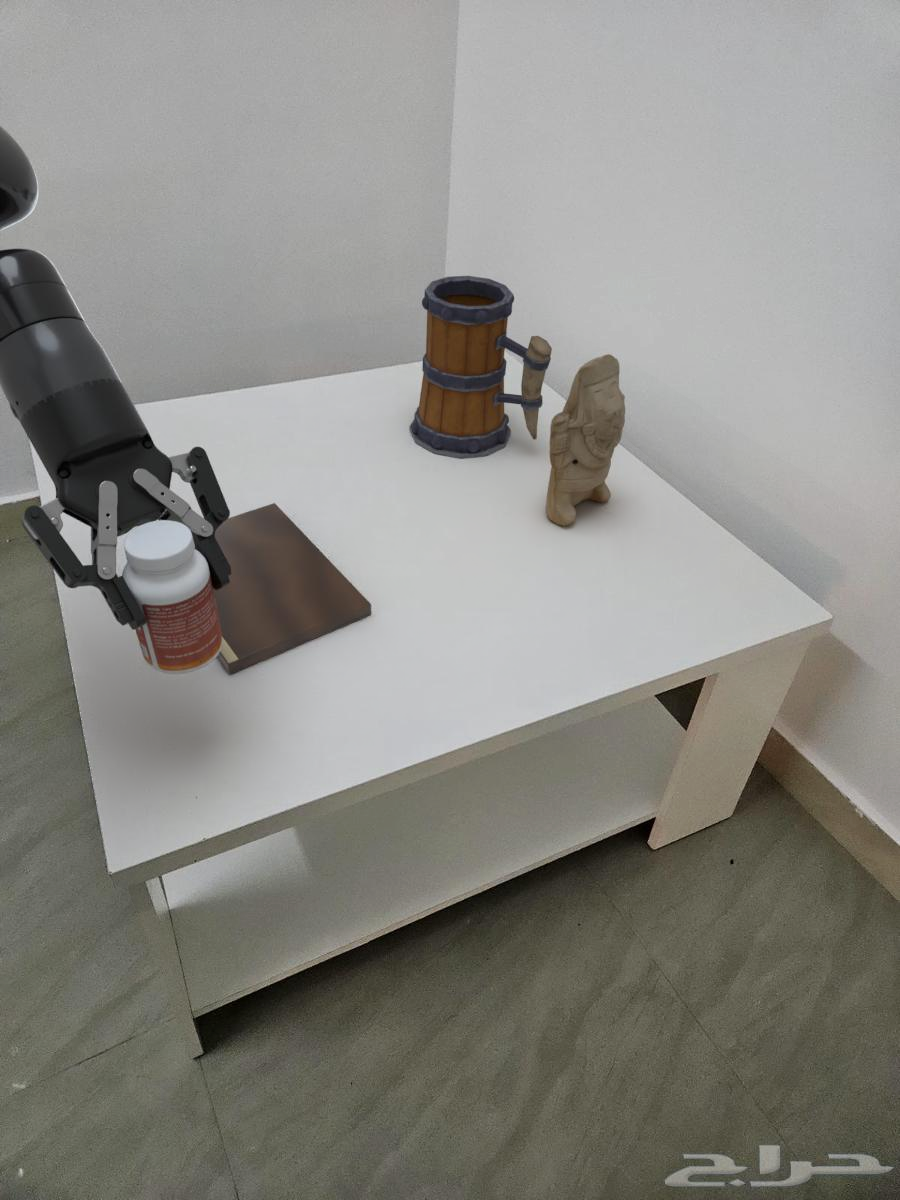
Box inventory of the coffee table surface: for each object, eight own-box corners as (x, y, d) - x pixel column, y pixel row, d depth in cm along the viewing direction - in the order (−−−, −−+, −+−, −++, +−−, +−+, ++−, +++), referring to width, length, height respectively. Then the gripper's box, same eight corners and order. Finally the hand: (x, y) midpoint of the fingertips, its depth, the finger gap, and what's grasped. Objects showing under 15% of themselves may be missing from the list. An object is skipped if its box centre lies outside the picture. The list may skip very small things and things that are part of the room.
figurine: (561, 541, 97) (588, 386, 84) (519, 513, 102) (538, 360, 88) (630, 504, 104) (665, 356, 91) (588, 479, 108) (615, 333, 95)
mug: (558, 435, 117) (579, 295, 104) (513, 481, 107) (530, 333, 94) (441, 398, 123) (448, 263, 110) (389, 438, 114) (389, 295, 101)
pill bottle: (239, 638, 66) (221, 527, 59) (191, 688, 62) (166, 575, 55) (176, 614, 68) (151, 504, 61) (125, 661, 64) (92, 549, 56)
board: (229, 675, 79) (227, 663, 77) (146, 556, 92) (143, 544, 91) (371, 614, 86) (371, 603, 85) (275, 512, 99) (274, 501, 98)
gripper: (-32, 410, 52) (98, 643, 53) (173, 352, 60) (282, 556, 61) (-36, 450, 58) (81, 657, 60) (151, 392, 66) (249, 576, 67)
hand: (182, 605), depth 60 cm, fingers closed on pill bottle, 6 cm apart
